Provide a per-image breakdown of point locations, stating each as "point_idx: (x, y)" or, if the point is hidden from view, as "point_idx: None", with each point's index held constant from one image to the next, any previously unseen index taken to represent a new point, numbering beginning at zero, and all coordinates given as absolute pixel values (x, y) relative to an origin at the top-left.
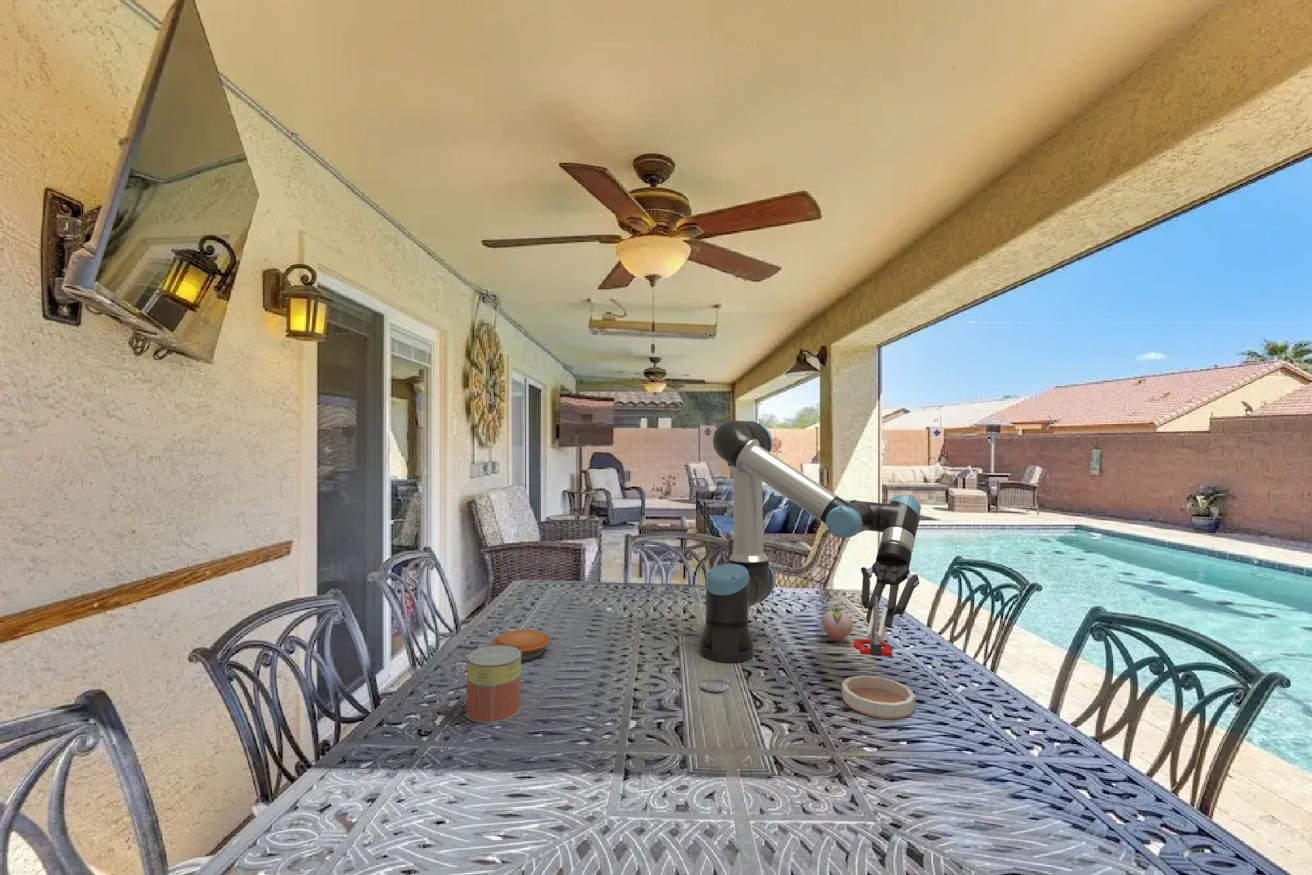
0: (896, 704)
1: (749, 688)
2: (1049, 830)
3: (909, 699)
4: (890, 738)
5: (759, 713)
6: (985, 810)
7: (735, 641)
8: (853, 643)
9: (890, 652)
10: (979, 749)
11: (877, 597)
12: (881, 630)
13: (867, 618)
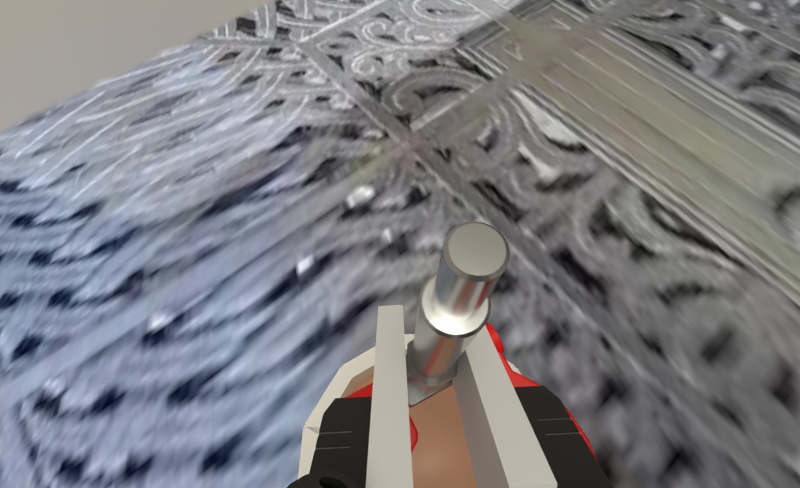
0: (339, 375)
1: (759, 278)
2: (61, 152)
3: (308, 455)
4: (333, 264)
5: (622, 179)
6: (151, 143)
7: None
8: (580, 428)
9: (348, 397)
10: (128, 355)
11: (449, 236)
12: (381, 324)
13: (543, 397)
